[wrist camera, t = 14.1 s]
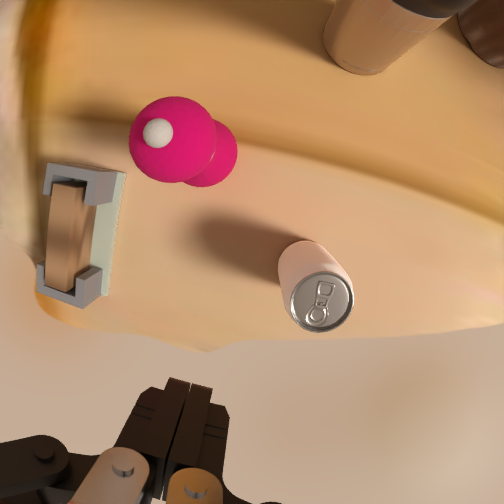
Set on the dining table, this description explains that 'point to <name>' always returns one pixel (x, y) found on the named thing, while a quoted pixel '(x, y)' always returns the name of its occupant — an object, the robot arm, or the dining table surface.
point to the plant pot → (485, 30)
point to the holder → (108, 207)
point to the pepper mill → (181, 143)
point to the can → (314, 287)
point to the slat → (68, 235)
